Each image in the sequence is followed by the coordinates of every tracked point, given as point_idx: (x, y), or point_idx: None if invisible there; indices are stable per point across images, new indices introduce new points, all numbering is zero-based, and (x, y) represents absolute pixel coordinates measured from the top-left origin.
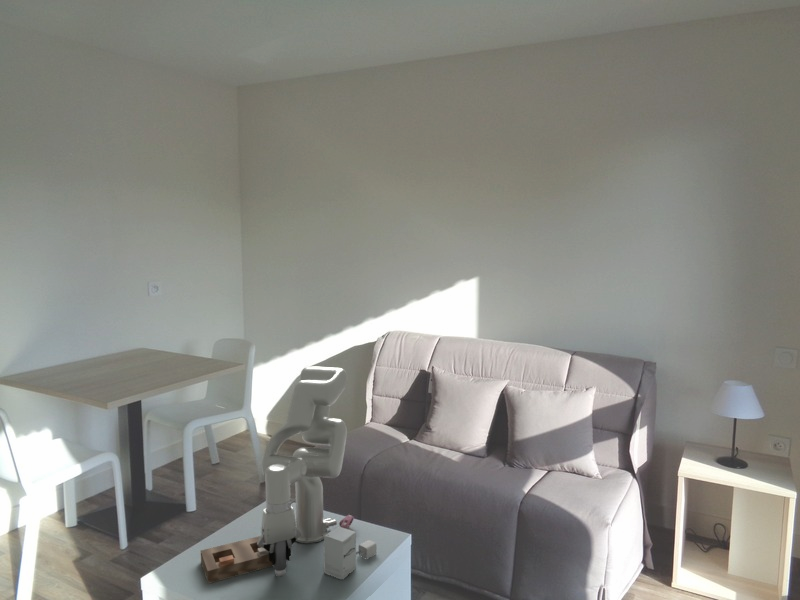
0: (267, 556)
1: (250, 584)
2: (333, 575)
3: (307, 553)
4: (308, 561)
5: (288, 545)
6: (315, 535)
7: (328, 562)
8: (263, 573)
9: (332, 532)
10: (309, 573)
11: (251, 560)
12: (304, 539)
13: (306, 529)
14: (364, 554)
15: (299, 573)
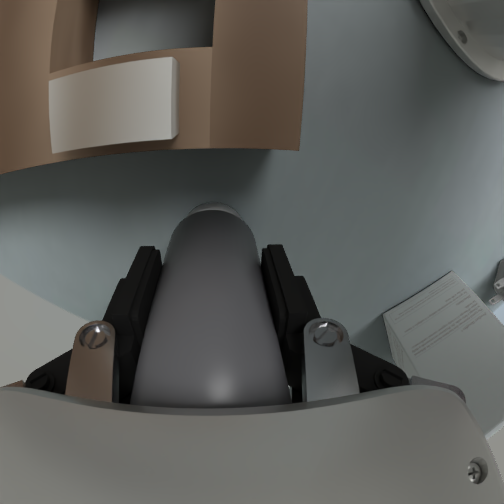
0: (136, 149)
1: (61, 257)
2: (389, 342)
3: (420, 124)
4: (390, 199)
5: (292, 402)
6: (498, 56)
7: (406, 366)
8: (121, 192)
9: (493, 431)
10: (340, 292)
11: (26, 166)
12: (453, 25)
13: (502, 25)
14: (502, 292)
15: (303, 275)
